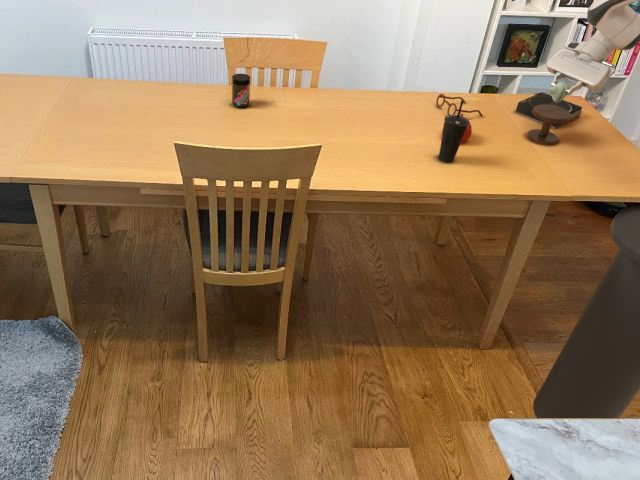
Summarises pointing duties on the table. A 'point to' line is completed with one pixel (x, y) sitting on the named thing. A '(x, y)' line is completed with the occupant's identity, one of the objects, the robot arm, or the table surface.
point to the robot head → (558, 91)
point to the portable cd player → (528, 104)
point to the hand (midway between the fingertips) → (559, 90)
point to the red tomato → (467, 132)
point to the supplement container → (240, 90)
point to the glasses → (453, 104)
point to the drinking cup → (452, 135)
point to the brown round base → (547, 123)
